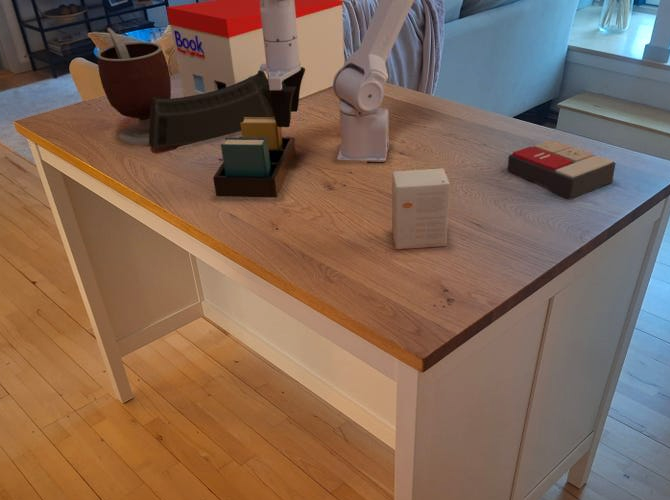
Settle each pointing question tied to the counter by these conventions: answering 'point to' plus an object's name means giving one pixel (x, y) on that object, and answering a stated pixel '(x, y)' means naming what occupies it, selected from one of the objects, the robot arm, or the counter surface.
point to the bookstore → (252, 43)
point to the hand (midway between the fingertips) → (287, 118)
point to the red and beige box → (562, 168)
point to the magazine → (207, 113)
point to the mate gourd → (134, 82)
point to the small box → (420, 208)
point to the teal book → (246, 157)
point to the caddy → (258, 185)
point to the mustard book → (263, 130)
